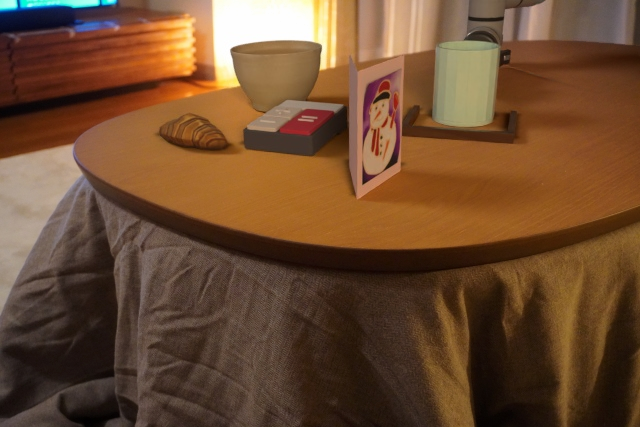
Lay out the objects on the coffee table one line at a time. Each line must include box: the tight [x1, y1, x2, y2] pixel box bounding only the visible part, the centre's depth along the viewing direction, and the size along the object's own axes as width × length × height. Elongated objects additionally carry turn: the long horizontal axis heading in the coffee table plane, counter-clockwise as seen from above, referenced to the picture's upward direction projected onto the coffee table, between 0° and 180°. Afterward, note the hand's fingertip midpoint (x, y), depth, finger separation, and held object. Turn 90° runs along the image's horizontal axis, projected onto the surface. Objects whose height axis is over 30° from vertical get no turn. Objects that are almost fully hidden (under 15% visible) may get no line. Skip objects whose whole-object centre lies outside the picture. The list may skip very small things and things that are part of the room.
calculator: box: [242, 100, 349, 157], centre depth 95 cm, size 11×4×15 cm
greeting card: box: [348, 52, 405, 201], centre depth 75 cm, size 11×7×15 cm, turn 147°
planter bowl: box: [229, 39, 323, 113], centre depth 111 cm, size 16×16×11 cm
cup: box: [431, 39, 502, 128], centre depth 101 cm, size 10×10×12 cm
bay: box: [402, 104, 518, 144], centre depth 99 cm, size 14×17×2 cm
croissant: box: [158, 112, 228, 151], centre depth 92 cm, size 14×7×5 cm, turn 54°
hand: (467, 72), depth 105 cm, fingers closed
